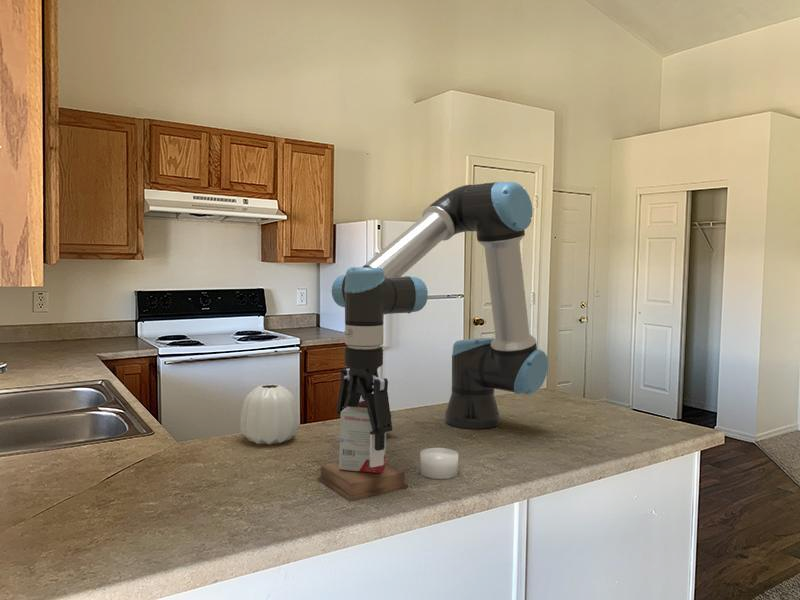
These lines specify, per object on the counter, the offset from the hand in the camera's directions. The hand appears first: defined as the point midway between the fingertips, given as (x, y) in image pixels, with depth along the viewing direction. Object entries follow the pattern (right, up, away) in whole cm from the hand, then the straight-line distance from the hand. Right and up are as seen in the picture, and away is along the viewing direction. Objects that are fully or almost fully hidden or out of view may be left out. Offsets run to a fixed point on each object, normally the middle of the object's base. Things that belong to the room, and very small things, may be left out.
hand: (362, 458), depth 122 cm
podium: (0, -5, 0) cm, 5 cm away
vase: (-24, -3, +28) cm, 38 cm away
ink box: (0, -2, 0) cm, 2 cm away
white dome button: (+16, -5, +8) cm, 18 cm away
